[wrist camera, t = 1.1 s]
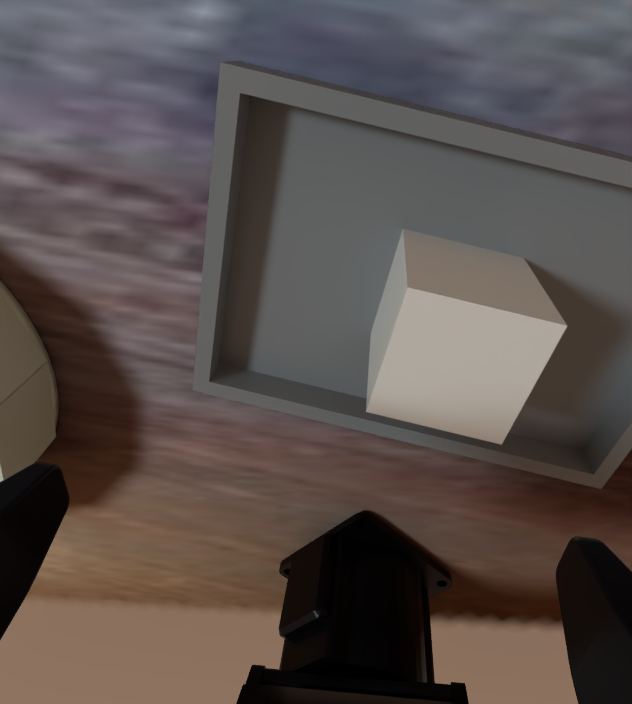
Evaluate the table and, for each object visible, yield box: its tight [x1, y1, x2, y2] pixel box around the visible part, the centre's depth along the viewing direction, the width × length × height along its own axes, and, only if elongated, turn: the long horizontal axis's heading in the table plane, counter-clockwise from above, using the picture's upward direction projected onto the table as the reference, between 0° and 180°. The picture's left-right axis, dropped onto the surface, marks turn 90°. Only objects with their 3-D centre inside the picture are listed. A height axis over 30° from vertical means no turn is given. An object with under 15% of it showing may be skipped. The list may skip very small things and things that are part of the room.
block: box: [366, 229, 567, 445], centre depth 15 cm, size 4×4×5 cm
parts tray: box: [192, 61, 632, 489], centre depth 17 cm, size 16×11×2 cm
